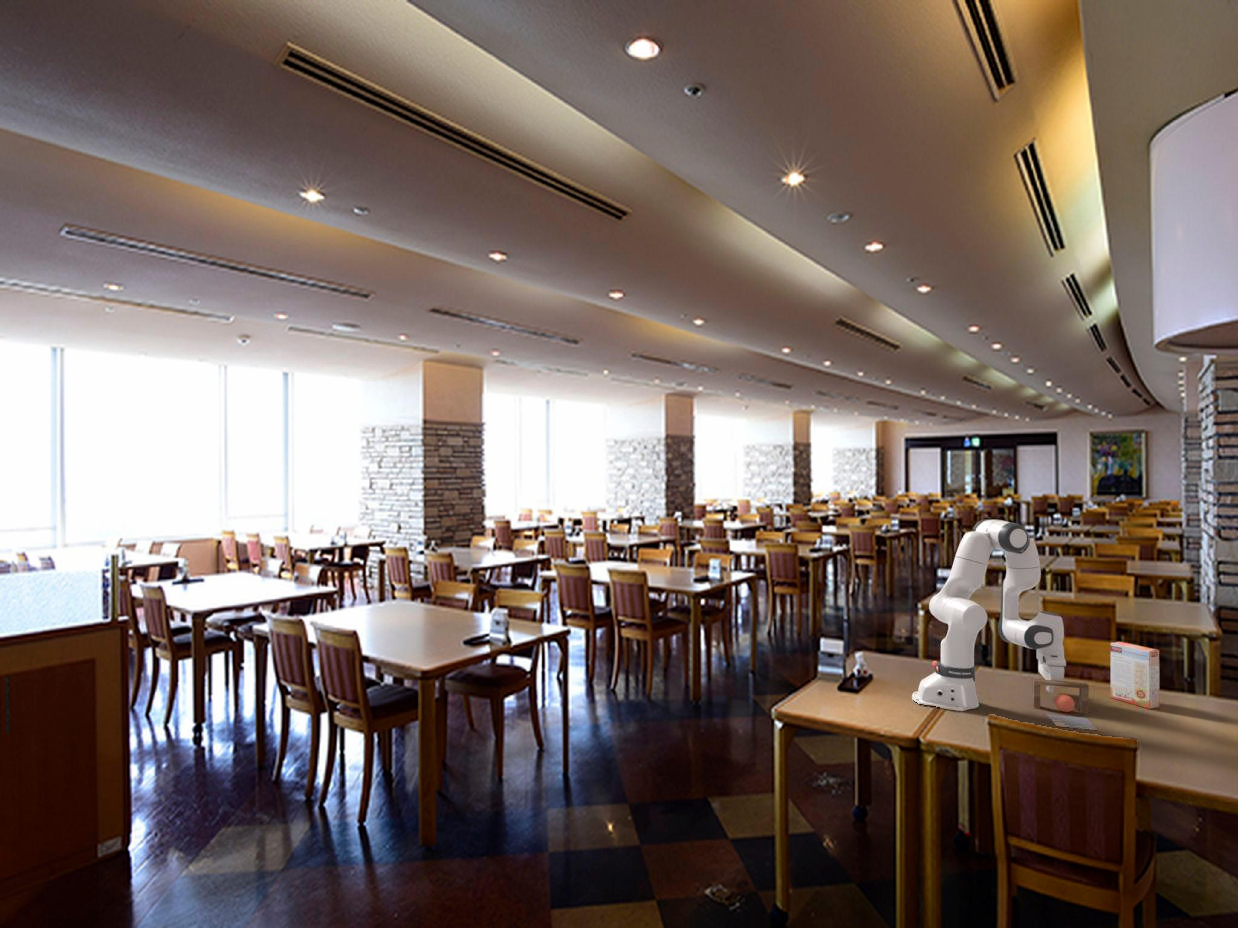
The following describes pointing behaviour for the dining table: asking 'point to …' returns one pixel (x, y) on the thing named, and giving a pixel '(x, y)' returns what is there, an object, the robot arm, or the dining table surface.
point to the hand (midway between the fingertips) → (1050, 691)
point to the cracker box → (1135, 674)
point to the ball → (1064, 703)
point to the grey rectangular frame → (1082, 686)
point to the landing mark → (1072, 721)
